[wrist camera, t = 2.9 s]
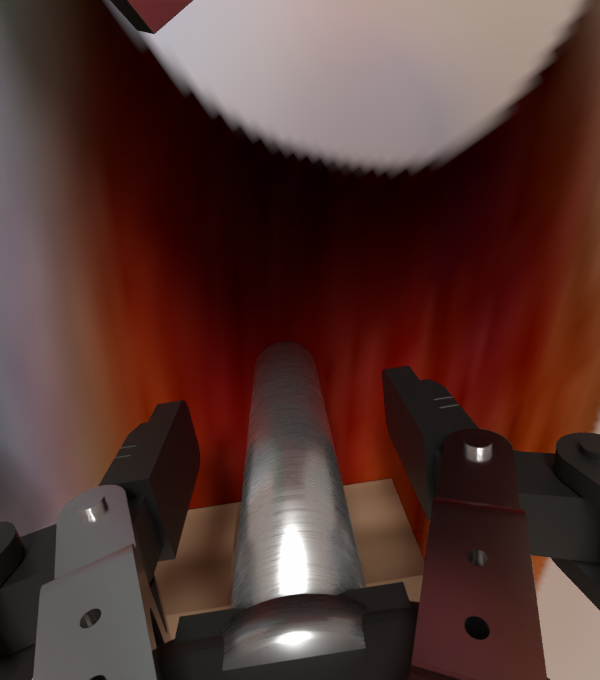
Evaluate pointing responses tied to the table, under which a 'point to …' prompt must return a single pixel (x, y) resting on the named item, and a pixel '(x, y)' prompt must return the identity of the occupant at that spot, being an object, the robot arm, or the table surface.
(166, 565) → the slotted tan block
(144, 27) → the puzzle cube
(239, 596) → the cylinder
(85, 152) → the table surface
